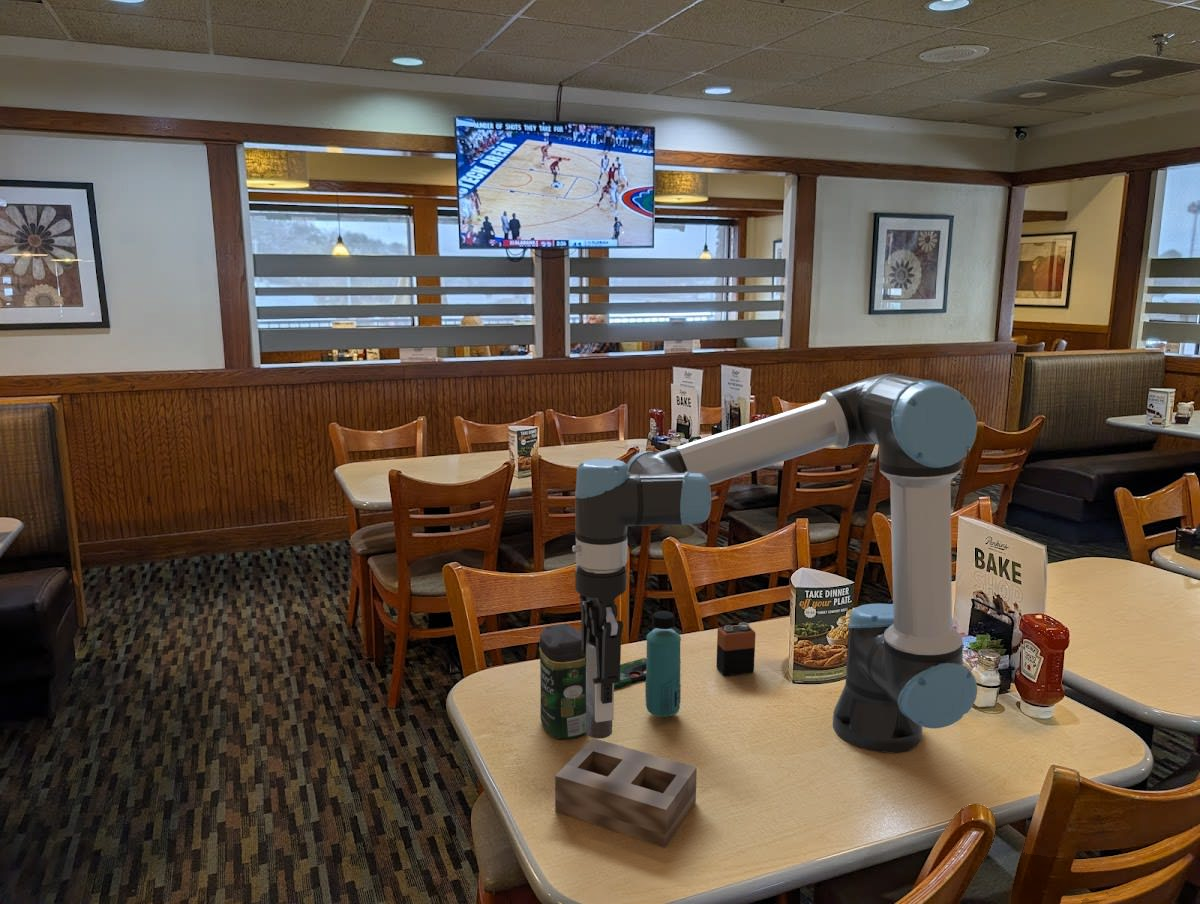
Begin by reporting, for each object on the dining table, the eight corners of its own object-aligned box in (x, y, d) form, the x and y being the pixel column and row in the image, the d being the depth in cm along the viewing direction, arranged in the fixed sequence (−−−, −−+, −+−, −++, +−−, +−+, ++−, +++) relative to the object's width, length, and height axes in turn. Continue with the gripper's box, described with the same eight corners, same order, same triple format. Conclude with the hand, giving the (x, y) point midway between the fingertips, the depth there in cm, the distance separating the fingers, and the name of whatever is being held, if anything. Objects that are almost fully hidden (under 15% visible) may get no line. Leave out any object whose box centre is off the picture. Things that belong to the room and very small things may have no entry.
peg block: (695, 802, 130) (696, 767, 129) (665, 847, 119) (666, 809, 118) (592, 771, 138) (592, 738, 137) (555, 811, 128) (555, 775, 126)
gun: (608, 693, 162) (582, 673, 170) (608, 700, 162) (582, 679, 171) (676, 673, 171) (647, 654, 179) (676, 679, 171) (647, 661, 179)
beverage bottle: (678, 726, 152) (680, 622, 148) (641, 722, 153) (643, 619, 149) (682, 708, 158) (684, 608, 154) (647, 705, 160) (648, 605, 156)
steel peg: (616, 728, 129) (617, 643, 127) (604, 741, 126) (605, 653, 123) (593, 722, 131) (594, 638, 128) (581, 734, 128) (581, 647, 125)
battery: (754, 673, 173) (756, 627, 171) (723, 677, 171) (725, 631, 169) (745, 664, 177) (747, 619, 175) (715, 667, 175) (717, 622, 173)
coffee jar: (534, 718, 155) (533, 623, 151) (575, 710, 158) (575, 617, 154) (552, 745, 146) (551, 644, 142) (594, 736, 149) (594, 637, 145)
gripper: (560, 550, 130) (561, 690, 135) (593, 587, 114) (592, 745, 119) (607, 546, 132) (605, 684, 137) (645, 582, 116) (642, 737, 121)
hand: (599, 712), depth 128 cm, fingers closed on steel peg, 4 cm apart
